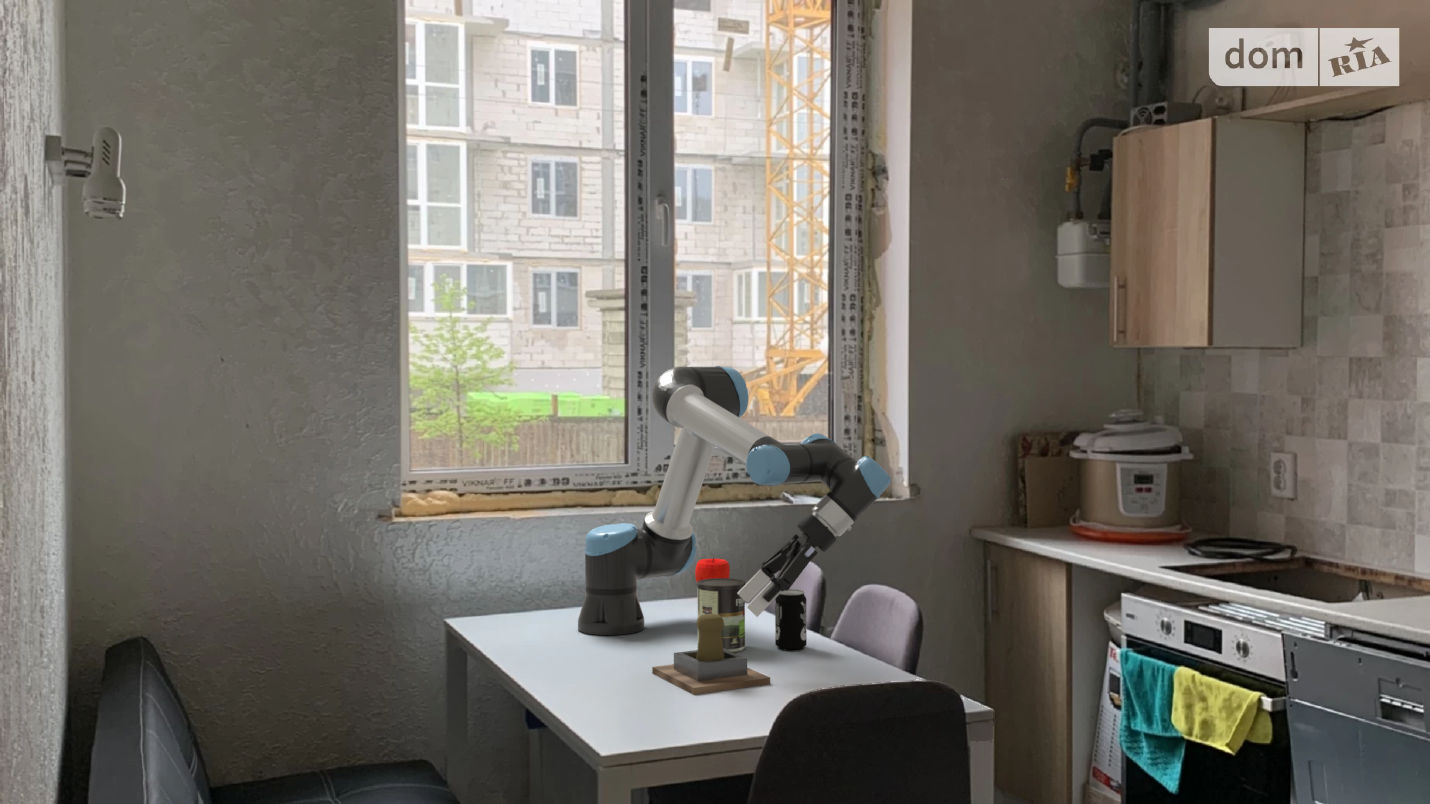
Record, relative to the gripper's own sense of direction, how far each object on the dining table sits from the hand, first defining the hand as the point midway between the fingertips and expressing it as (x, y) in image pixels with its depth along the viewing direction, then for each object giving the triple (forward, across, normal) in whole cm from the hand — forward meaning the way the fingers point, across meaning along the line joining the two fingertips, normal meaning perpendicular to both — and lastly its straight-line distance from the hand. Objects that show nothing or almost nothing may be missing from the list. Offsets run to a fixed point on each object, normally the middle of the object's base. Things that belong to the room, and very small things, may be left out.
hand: (746, 605), depth 232 cm
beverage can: (+1, +24, -19) cm, 31 cm away
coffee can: (+12, +26, -9) cm, 30 cm away
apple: (+9, +82, -12) cm, 83 cm away
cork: (+14, +1, -4) cm, 15 cm away
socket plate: (+15, +1, -5) cm, 16 cm away
